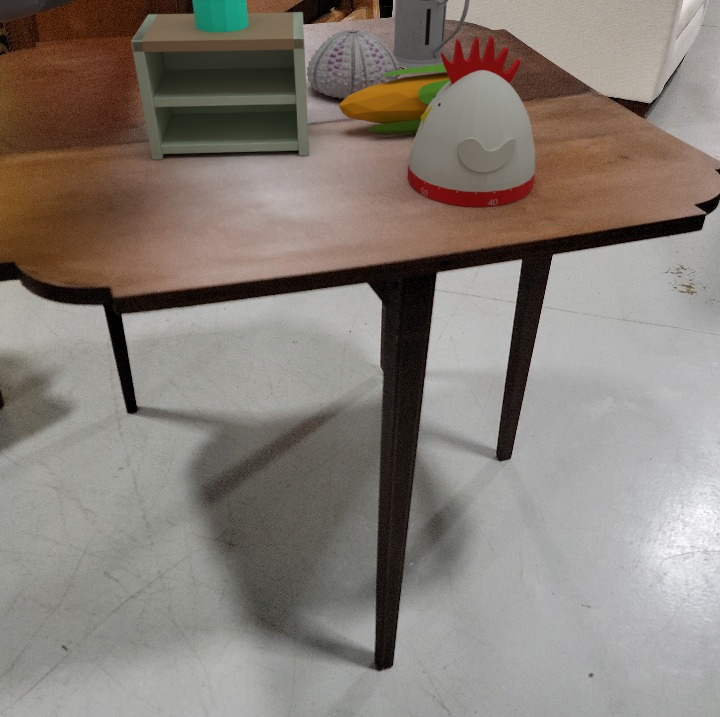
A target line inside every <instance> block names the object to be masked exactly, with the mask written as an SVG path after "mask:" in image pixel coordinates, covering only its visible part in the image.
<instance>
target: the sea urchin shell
mask: <svg viewBox="0 0 720 717" xmlns="http://www.w3.org/2000/svg"><path fill="white" fill-rule="evenodd" d="M398 64H399V63H398V62H397V60H396V58H395V57H394V51H393V52H392V50H391V47H390V46H388V45H387V44H386V42H385V41H383V40H381V39H380V37H377V36H375V35H374V34H372V33H370V32H368V31H364V30H359V29H350V30H341V31H338V32H336V33H335V34H334V33H333V34H332V35H331V36H330V37H329V36H328V37H327V39H326V40H325V41H324V42H322V44H320V47H318V49H316V50H315V52H314V54H313V55H312V56H311V59H310V60H309V61H308V66H307V67H306V77H307V81H308V82H309V86H310V87H312V88H313V89H314V91H317V92H318V93H319V94H324V96H327V97H328V96H329V97H331V98H339V99H340V100H344V99H345V98H346V97H347V96H349V95H351V94H353V93H355V92H358V91H360V90H362V89H365V88H367V87H369V86H373V85H377V84H381V83H385V82H388V81H392V80H396V79H399V77H400V76H401V75H395V76H383V75H382V74H385V73H389V72H392V71H396V70H400V69H401V68H399V67H398Z"/></svg>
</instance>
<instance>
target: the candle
mask: <svg viewBox="0 0 720 717" xmlns="http://www.w3.org/2000/svg"><path fill="white" fill-rule="evenodd" d="M192 8H193V14H194V17H195V25H196V28H197V29H199V30H201V31H207V32H232V31H238V30H242V29H244V28H247V27H248V13H249V12H248V2H247V0H192Z"/></svg>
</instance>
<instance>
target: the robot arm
mask: <svg viewBox="0 0 720 717" xmlns="http://www.w3.org/2000/svg"><path fill="white" fill-rule="evenodd" d="M74 1H75V0H0V24H1V23H8V22H13V21H16V20H20V19H23V18H26V17H30V16H33V15H37V14H41V13H43V12H47V11H50V10H54V9H57V8H60V7H64V6H67V5H69V4H72V3H73V2H74Z"/></svg>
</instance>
